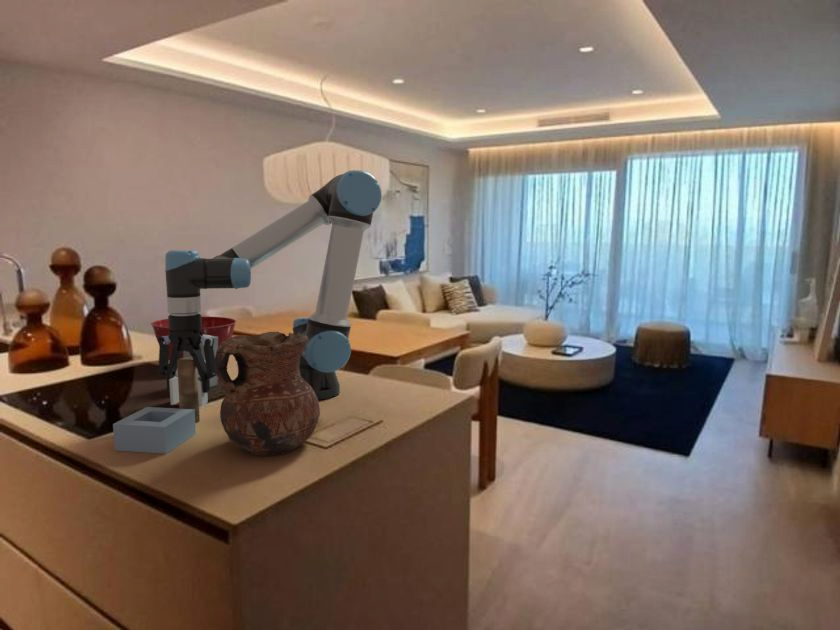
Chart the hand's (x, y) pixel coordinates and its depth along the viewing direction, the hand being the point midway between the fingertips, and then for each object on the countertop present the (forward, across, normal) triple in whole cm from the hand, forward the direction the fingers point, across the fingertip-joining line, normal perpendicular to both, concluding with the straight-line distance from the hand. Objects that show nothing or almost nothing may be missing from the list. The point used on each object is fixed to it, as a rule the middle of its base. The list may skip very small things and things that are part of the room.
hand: (189, 403), depth 137 cm
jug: (+5, -26, +12) cm, 29 cm away
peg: (+5, 0, 0) cm, 5 cm away
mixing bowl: (+5, +31, -58) cm, 66 cm away
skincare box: (+5, +14, -31) cm, 34 cm away
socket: (+5, 0, +14) cm, 15 cm away
